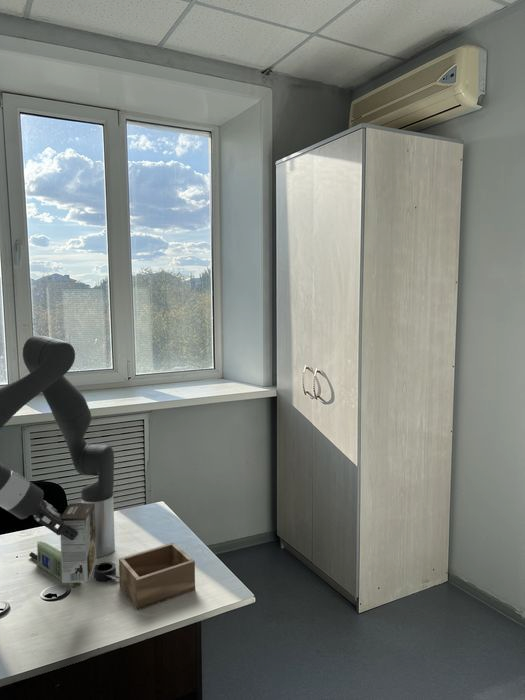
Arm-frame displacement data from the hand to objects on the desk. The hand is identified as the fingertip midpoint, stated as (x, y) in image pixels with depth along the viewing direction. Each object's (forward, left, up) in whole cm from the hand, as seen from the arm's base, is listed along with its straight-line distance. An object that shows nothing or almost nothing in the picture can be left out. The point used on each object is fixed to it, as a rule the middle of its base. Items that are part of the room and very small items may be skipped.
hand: (70, 529), depth 126 cm
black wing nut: (-14, +12, -23) cm, 29 cm away
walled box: (0, +22, -22) cm, 31 cm away
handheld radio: (-25, +1, -23) cm, 34 cm away
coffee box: (0, +2, -12) cm, 12 cm away
